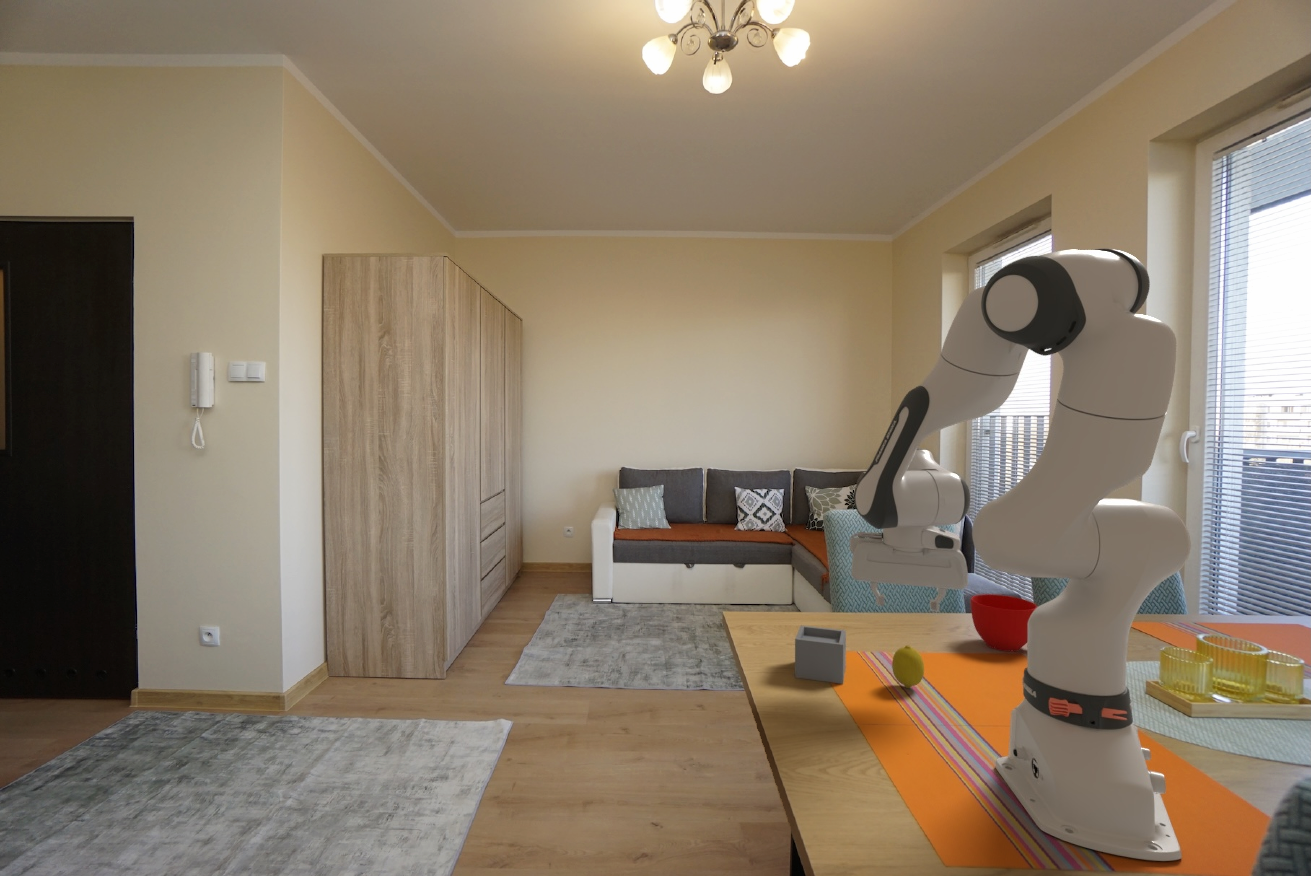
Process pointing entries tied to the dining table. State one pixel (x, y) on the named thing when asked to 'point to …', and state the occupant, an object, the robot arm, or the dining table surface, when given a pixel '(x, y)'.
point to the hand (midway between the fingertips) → (906, 607)
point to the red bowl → (1002, 620)
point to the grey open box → (820, 654)
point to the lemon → (908, 666)
